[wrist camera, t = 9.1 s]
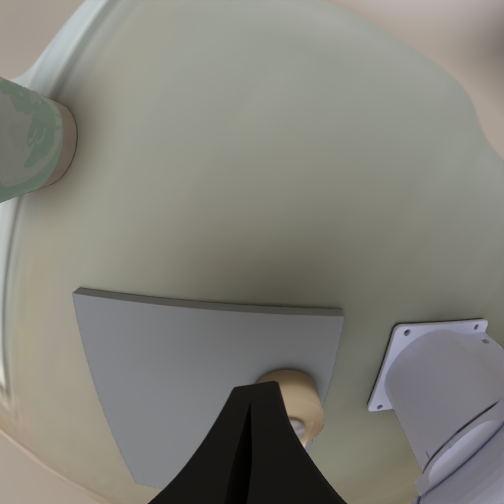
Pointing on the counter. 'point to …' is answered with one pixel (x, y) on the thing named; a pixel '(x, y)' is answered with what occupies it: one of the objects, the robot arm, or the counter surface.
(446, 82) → the counter surface
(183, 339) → the board
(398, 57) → the counter surface
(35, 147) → the coffee cup
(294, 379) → the link
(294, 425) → the pintle
